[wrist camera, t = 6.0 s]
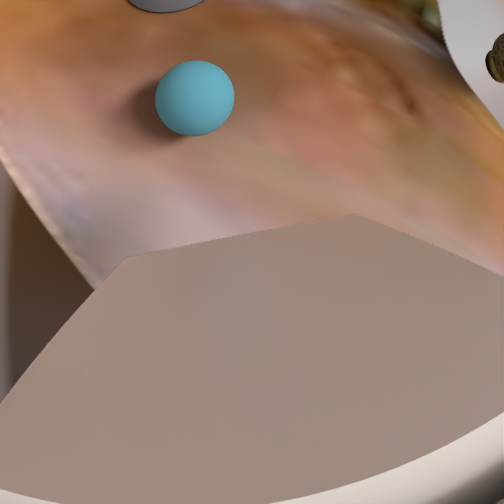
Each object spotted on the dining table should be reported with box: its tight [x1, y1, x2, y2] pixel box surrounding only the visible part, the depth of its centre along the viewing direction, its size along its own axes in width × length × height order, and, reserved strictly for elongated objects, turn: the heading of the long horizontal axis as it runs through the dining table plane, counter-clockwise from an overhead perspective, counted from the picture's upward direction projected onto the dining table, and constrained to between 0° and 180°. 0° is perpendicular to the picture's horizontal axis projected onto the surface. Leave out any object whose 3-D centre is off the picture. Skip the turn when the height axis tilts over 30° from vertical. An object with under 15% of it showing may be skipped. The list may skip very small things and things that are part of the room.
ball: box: [155, 61, 234, 136], centre depth 19 cm, size 5×5×5 cm
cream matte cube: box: [0, 214, 504, 504], centre depth 7 cm, size 8×8×9 cm
